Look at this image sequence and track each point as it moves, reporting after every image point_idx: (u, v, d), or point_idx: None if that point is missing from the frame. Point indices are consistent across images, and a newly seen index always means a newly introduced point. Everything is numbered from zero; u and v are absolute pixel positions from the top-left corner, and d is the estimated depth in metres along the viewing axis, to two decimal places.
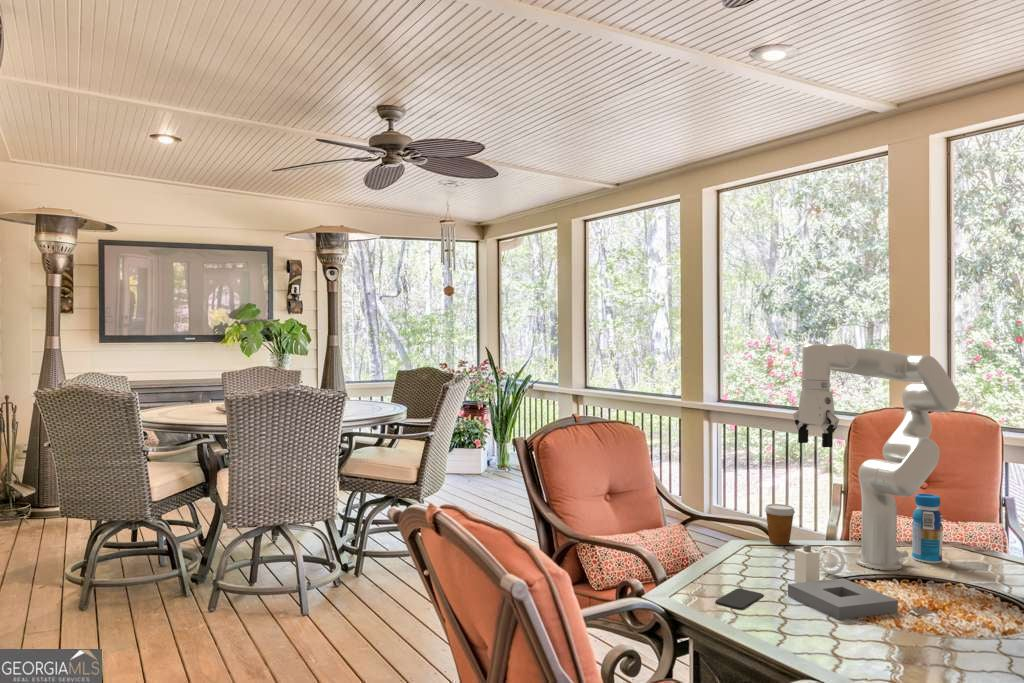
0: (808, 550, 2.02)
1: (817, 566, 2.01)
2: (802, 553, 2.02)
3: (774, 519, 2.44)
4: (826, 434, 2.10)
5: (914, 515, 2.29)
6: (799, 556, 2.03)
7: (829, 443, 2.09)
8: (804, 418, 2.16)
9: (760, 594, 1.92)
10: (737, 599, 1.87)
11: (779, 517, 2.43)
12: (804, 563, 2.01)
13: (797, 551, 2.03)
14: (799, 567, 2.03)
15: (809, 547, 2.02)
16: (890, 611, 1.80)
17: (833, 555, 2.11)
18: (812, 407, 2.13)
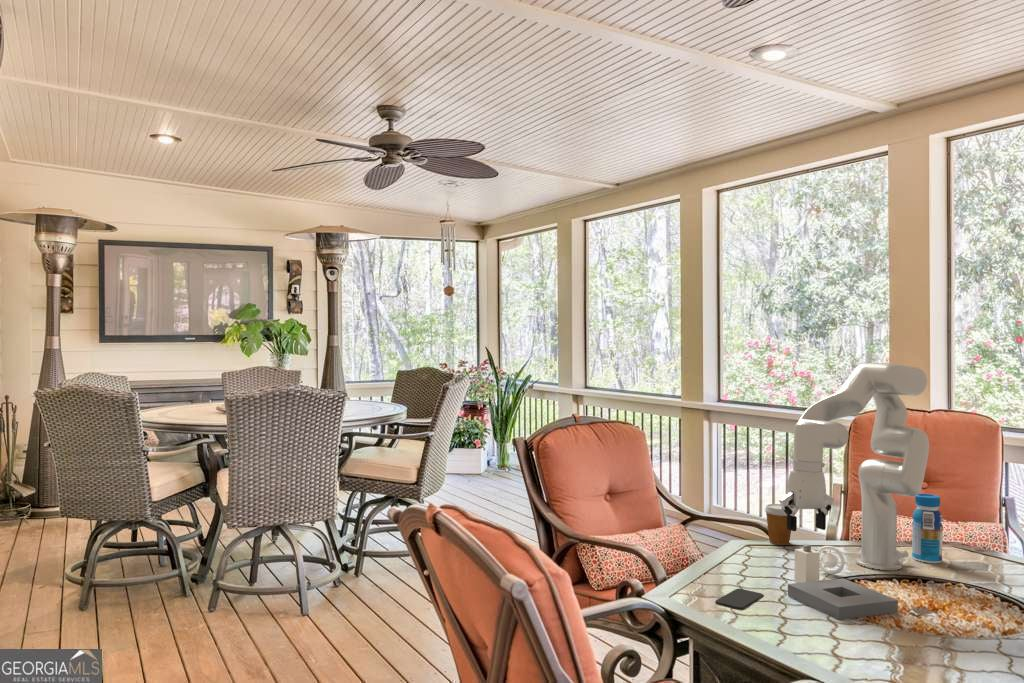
0: (808, 550, 2.02)
1: (817, 566, 2.01)
2: (802, 553, 2.02)
3: (774, 519, 2.44)
4: None
5: (914, 515, 2.29)
6: (799, 556, 2.03)
7: None
8: (806, 503, 2.00)
9: (760, 594, 1.92)
10: (737, 599, 1.87)
11: (779, 517, 2.43)
12: (804, 563, 2.01)
13: (797, 551, 2.03)
14: (799, 567, 2.03)
15: (809, 547, 2.02)
16: (890, 611, 1.80)
17: (833, 555, 2.11)
18: (817, 490, 2.01)
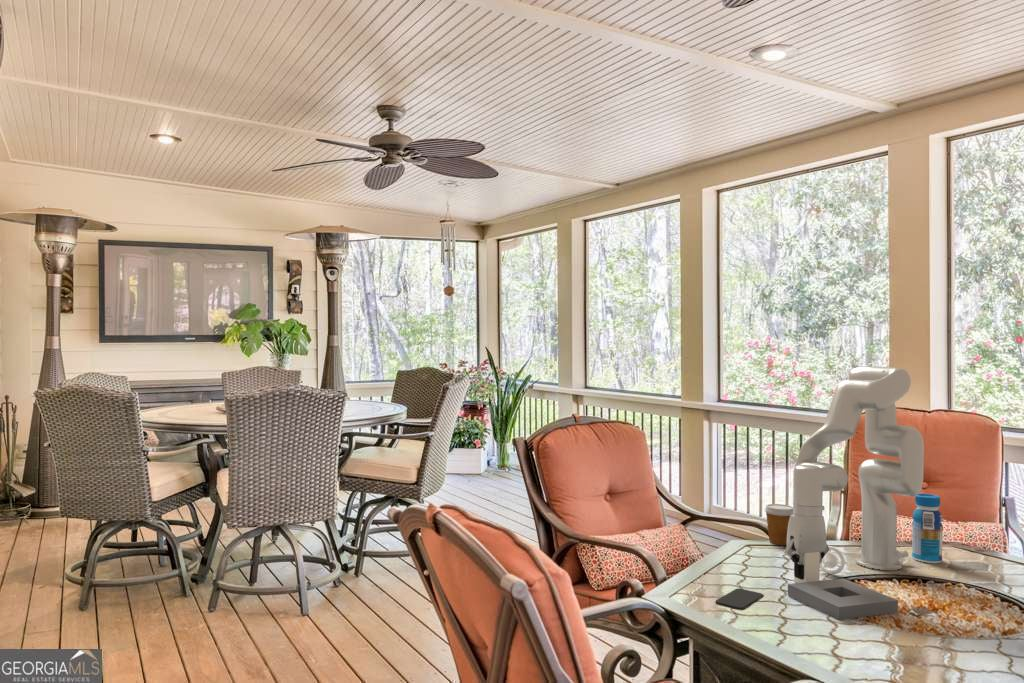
0: None
1: (817, 566, 2.01)
2: None
3: (774, 519, 2.44)
4: None
5: (914, 515, 2.29)
6: None
7: None
8: (806, 548, 2.00)
9: (760, 594, 1.92)
10: (737, 599, 1.87)
11: (779, 517, 2.43)
12: (804, 563, 2.01)
13: None
14: None
15: None
16: (890, 611, 1.80)
17: (833, 555, 2.11)
18: (818, 534, 2.01)
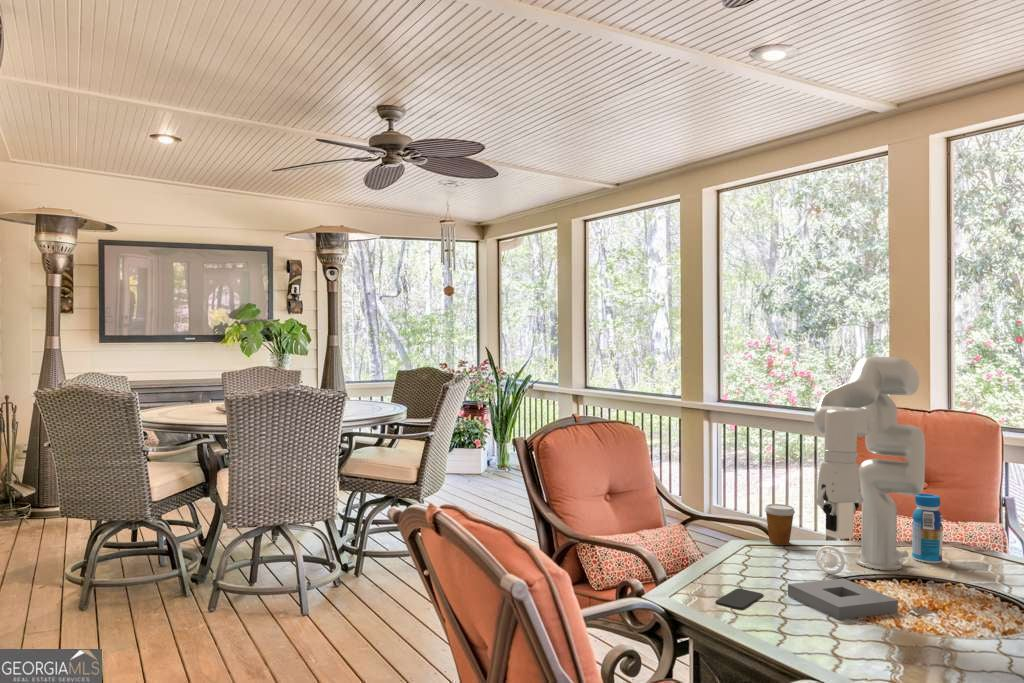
0: None
1: (851, 517, 1.86)
2: None
3: (774, 519, 2.44)
4: None
5: (914, 515, 2.29)
6: None
7: None
8: (839, 497, 1.85)
9: (760, 594, 1.92)
10: (737, 599, 1.87)
11: (779, 517, 2.43)
12: (837, 513, 1.86)
13: None
14: None
15: None
16: (890, 611, 1.80)
17: (833, 555, 2.11)
18: (851, 483, 1.86)
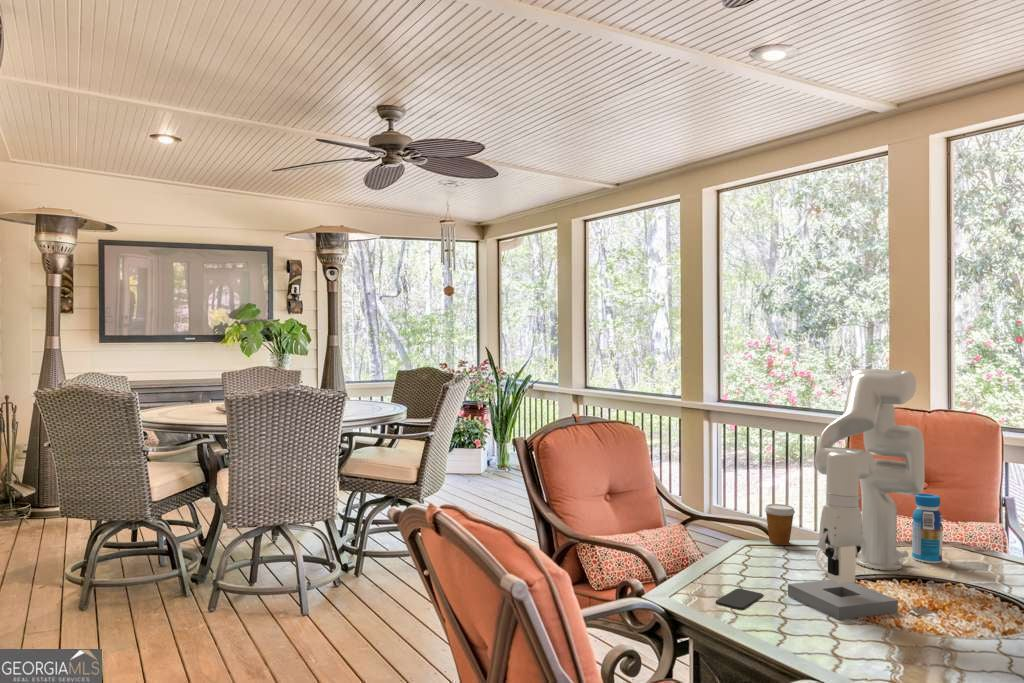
0: None
1: (853, 561, 1.85)
2: None
3: (774, 519, 2.44)
4: None
5: (914, 515, 2.29)
6: None
7: None
8: (842, 541, 1.84)
9: (760, 594, 1.92)
10: (737, 599, 1.87)
11: (779, 517, 2.43)
12: (839, 558, 1.85)
13: None
14: None
15: None
16: (890, 611, 1.80)
17: None
18: (854, 526, 1.85)
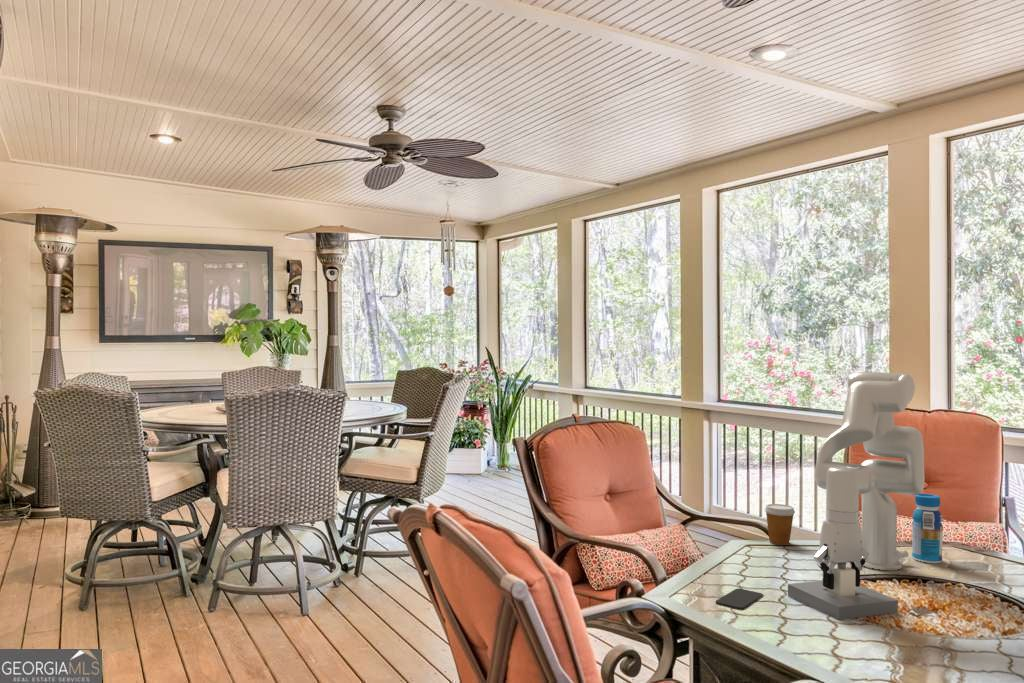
0: (843, 567, 1.86)
1: (853, 585, 1.85)
2: (836, 571, 1.85)
3: (774, 519, 2.44)
4: None
5: (914, 515, 2.29)
6: (833, 573, 1.87)
7: None
8: (841, 557, 1.84)
9: (760, 594, 1.92)
10: (737, 599, 1.87)
11: (779, 517, 2.43)
12: (838, 582, 1.85)
13: None
14: None
15: (844, 564, 1.86)
16: (890, 611, 1.80)
17: None
18: (853, 542, 1.85)
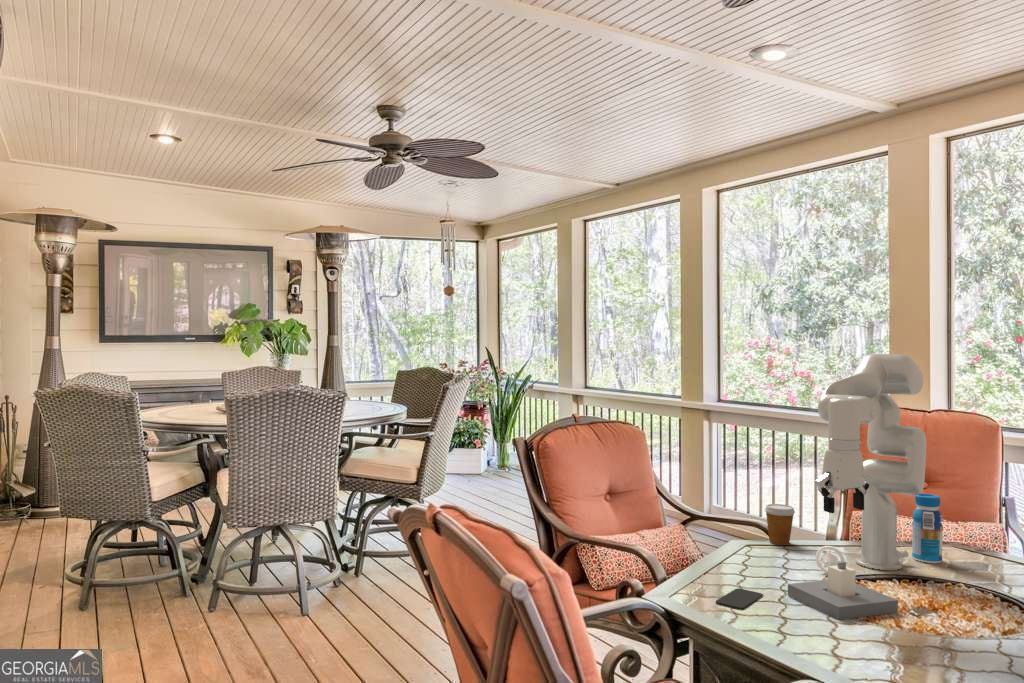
0: (843, 567, 1.86)
1: (853, 585, 1.85)
2: (836, 571, 1.85)
3: (774, 519, 2.44)
4: None
5: (914, 515, 2.29)
6: (833, 573, 1.87)
7: None
8: (844, 483, 1.91)
9: (760, 594, 1.92)
10: (737, 599, 1.87)
11: (779, 517, 2.43)
12: (838, 582, 1.85)
13: (831, 568, 1.87)
14: (833, 586, 1.87)
15: (844, 564, 1.86)
16: (890, 611, 1.80)
17: (833, 555, 2.11)
18: (855, 469, 1.91)
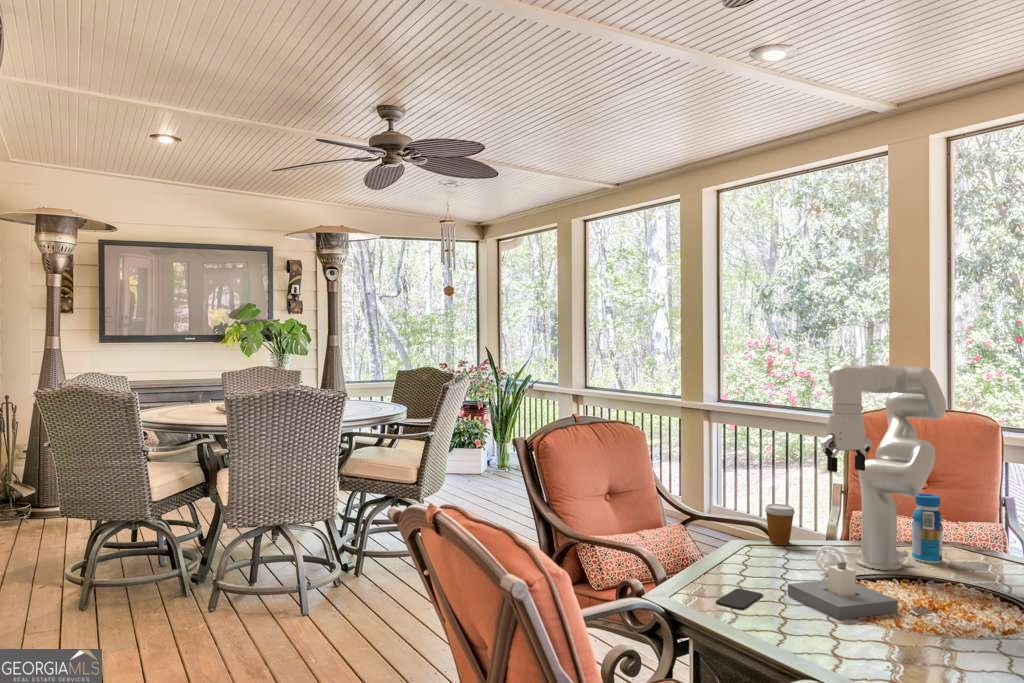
0: (843, 567, 1.86)
1: (853, 585, 1.85)
2: (836, 571, 1.85)
3: (774, 519, 2.44)
4: None
5: (914, 515, 2.29)
6: (833, 573, 1.87)
7: None
8: (846, 445, 2.06)
9: (760, 594, 1.92)
10: (737, 599, 1.87)
11: (779, 517, 2.43)
12: (838, 582, 1.85)
13: (831, 568, 1.87)
14: (833, 586, 1.87)
15: (844, 564, 1.86)
16: (890, 611, 1.80)
17: (833, 555, 2.11)
18: (857, 432, 2.07)
